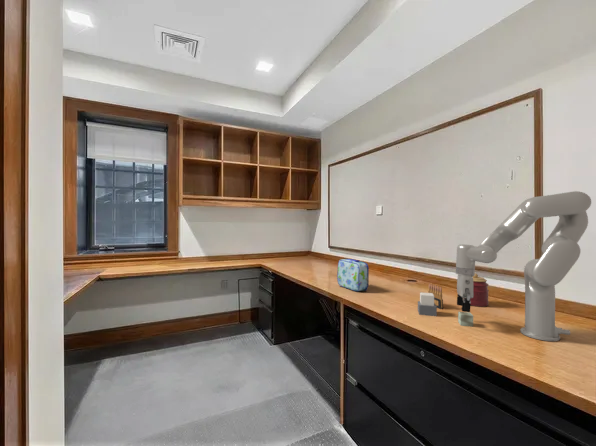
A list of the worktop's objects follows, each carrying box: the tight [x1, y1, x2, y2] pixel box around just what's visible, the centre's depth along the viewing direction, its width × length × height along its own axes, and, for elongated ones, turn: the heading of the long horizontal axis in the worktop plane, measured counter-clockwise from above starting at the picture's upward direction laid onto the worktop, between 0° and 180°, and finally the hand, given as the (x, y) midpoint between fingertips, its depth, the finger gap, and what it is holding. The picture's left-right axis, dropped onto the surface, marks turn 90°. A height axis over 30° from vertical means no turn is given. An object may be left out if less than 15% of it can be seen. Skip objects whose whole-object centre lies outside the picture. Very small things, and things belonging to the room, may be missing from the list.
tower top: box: [419, 292, 434, 306], centre depth 146 cm, size 6×6×5 cm
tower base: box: [417, 300, 438, 317], centre depth 146 cm, size 8×8×5 cm
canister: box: [470, 272, 489, 307], centre depth 164 cm, size 13×13×18 cm
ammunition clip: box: [427, 282, 444, 310], centre depth 159 cm, size 11×2×12 cm, turn 13°
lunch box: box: [336, 258, 370, 292], centre depth 200 cm, size 26×11×21 cm, turn 27°
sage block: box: [457, 311, 474, 327], centre depth 130 cm, size 5×5×5 cm
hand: (463, 308), depth 131 cm, fingers open, 9 cm apart
